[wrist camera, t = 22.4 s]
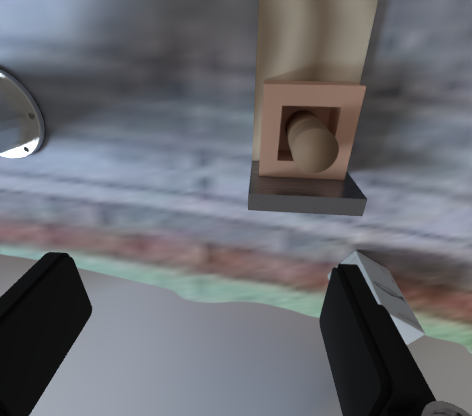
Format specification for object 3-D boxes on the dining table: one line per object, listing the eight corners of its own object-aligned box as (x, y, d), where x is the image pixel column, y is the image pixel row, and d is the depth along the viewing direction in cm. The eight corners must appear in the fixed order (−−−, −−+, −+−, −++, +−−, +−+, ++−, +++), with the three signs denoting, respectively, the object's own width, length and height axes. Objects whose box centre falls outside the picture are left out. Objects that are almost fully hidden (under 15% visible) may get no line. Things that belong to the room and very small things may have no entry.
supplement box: (388, 267, 45) (428, 335, 34) (356, 292, 48) (383, 360, 37) (355, 247, 44) (386, 311, 33) (325, 274, 47) (344, 340, 36)
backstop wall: (252, 170, 38) (247, 210, 28) (252, 157, 37) (248, 193, 27) (336, 173, 37) (362, 216, 28) (338, 160, 36) (367, 199, 27)
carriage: (259, 161, 36) (258, 175, 31) (264, 80, 31) (264, 83, 26) (334, 164, 35) (344, 179, 31) (351, 81, 30) (366, 85, 26)
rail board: (251, 176, 39) (251, 180, 38) (263, -98, 25) (263, -106, 24) (334, 180, 38) (337, 184, 37) (395, -102, 24) (402, -111, 23)
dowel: (283, 142, 33) (290, 172, 25) (287, 109, 31) (295, 128, 23) (315, 143, 33) (333, 174, 24) (321, 110, 31) (343, 130, 22)
